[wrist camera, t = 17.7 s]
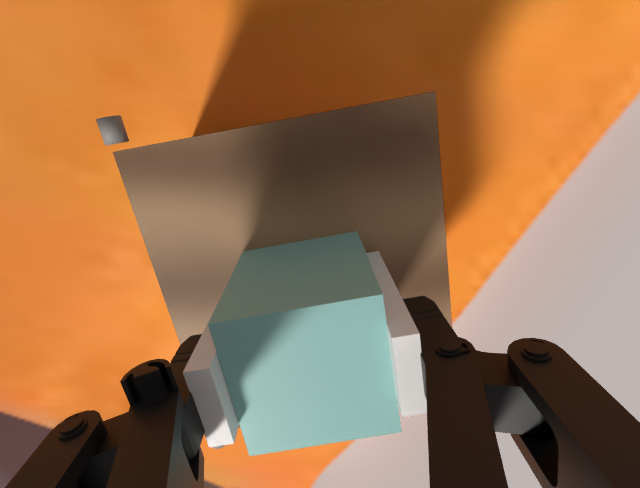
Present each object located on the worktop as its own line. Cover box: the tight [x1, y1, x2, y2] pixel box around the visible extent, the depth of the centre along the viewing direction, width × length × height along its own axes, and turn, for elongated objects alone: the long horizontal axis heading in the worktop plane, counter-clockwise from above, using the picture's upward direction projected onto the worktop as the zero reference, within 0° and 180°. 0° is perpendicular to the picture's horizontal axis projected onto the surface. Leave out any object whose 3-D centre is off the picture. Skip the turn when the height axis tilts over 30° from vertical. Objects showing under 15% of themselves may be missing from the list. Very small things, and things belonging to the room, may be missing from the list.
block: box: [208, 231, 402, 456], centre depth 14 cm, size 5×5×6 cm
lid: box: [113, 91, 452, 428], centre depth 17 cm, size 14×13×1 cm
